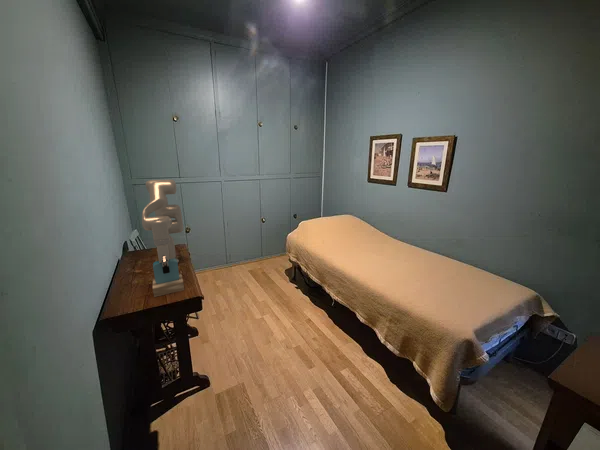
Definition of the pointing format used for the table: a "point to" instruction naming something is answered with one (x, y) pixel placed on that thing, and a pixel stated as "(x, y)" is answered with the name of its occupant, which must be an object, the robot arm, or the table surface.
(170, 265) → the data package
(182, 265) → the table surface
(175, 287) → the birch riser block
